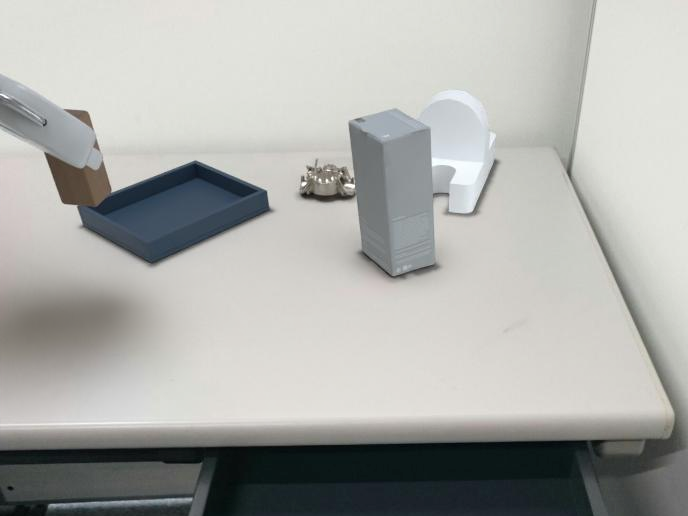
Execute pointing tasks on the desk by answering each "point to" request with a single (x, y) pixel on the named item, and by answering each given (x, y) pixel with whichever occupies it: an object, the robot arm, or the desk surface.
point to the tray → (174, 210)
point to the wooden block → (80, 175)
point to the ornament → (327, 181)
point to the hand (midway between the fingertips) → (79, 152)
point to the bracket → (459, 147)
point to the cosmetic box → (394, 190)
